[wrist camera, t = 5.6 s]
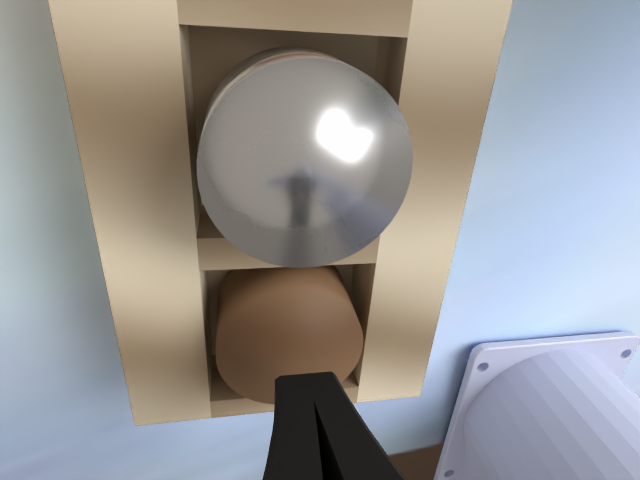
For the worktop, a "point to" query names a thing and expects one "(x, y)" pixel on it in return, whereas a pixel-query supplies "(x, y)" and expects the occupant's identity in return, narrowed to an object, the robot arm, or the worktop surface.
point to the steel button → (302, 158)
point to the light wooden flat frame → (182, 186)
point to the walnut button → (284, 327)
